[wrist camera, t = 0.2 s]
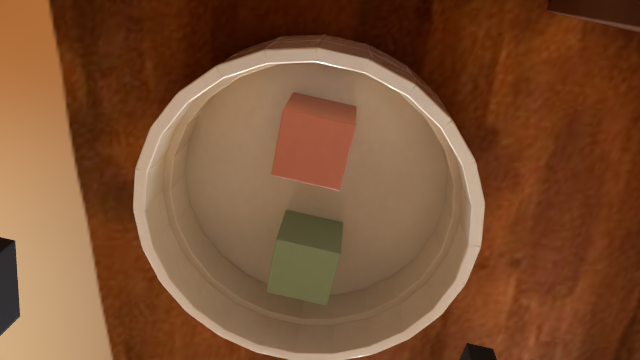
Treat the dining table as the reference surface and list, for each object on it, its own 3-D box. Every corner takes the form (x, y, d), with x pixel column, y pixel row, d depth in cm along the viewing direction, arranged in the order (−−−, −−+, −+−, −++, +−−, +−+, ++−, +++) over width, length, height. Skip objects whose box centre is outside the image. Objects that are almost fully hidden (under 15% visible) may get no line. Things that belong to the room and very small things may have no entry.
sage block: (285, 209, 32) (275, 239, 28) (343, 222, 32) (341, 253, 28) (276, 257, 34) (265, 292, 30) (330, 270, 34) (326, 306, 30)
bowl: (186, 1, 28) (142, 7, 22) (507, 74, 28) (542, 98, 22) (162, 270, 36) (126, 323, 30) (413, 326, 36) (422, 390, 30)
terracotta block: (292, 91, 29) (282, 108, 25) (357, 106, 29) (356, 124, 25) (281, 151, 30) (270, 175, 27) (342, 165, 30) (339, 191, 27)
